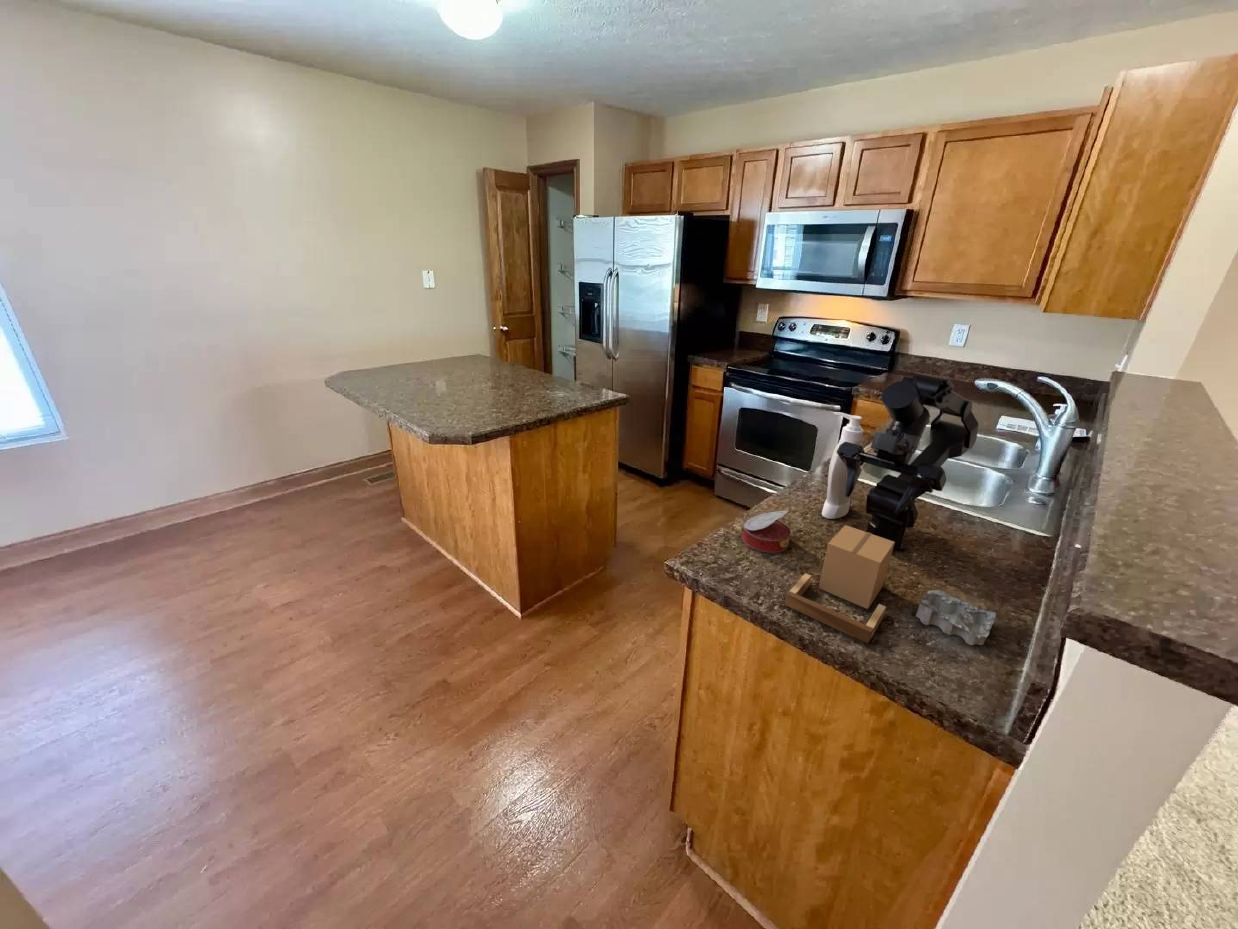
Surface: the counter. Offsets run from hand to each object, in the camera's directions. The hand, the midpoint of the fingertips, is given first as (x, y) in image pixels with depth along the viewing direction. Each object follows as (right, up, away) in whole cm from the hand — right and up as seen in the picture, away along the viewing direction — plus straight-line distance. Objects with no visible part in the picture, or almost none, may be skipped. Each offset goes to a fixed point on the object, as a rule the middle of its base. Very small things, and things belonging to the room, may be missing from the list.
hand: (870, 504), depth 97 cm
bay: (-9, -18, -6) cm, 21 cm away
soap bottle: (+4, -4, +28) cm, 29 cm away
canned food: (-16, -9, +15) cm, 24 cm away
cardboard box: (-4, -16, 0) cm, 16 cm away
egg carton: (+10, -20, -9) cm, 24 cm away
